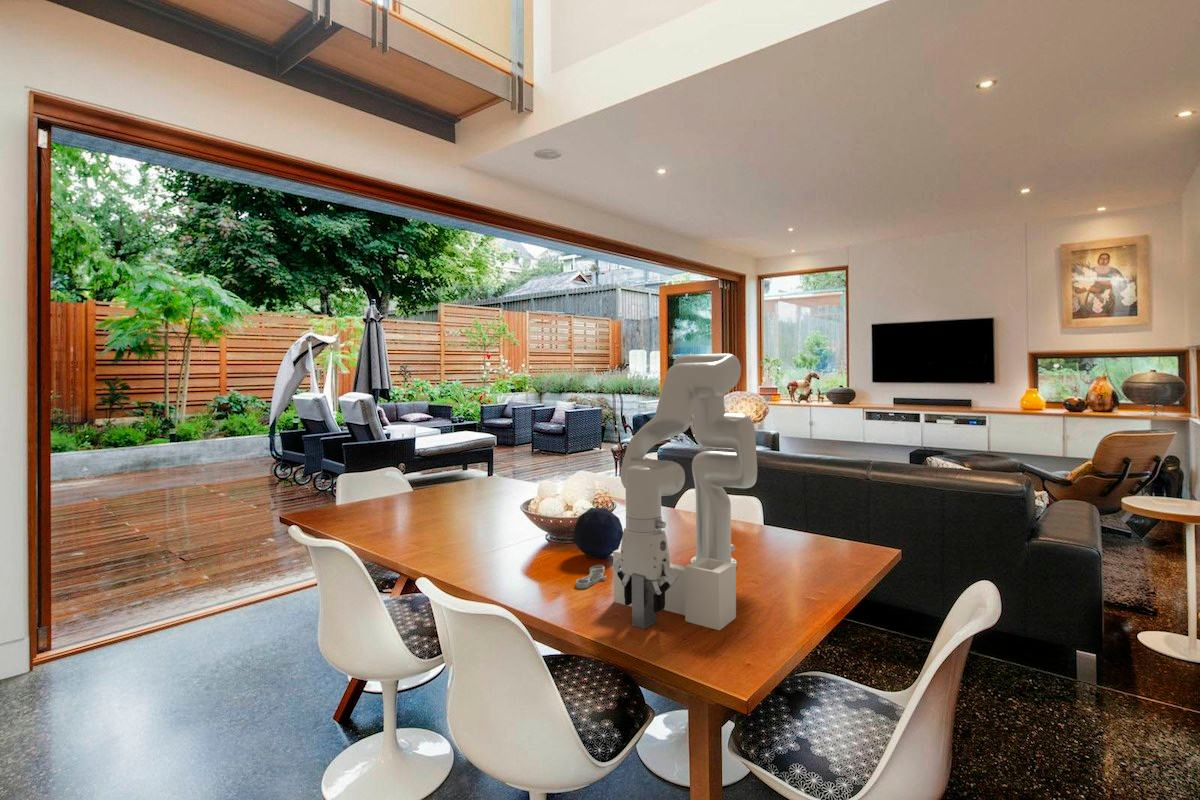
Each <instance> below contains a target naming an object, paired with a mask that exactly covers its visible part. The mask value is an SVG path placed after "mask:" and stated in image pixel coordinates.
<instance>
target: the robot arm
mask: <svg viewBox="0 0 1200 800" xmlns="http://www.w3.org/2000/svg"><path fill="white" fill-rule="evenodd" d="M672 364H673V365H672V366H670V367H669V368H668V369H667V371H666V374H665V377H664V380H663V383H662V388H661V391H660V395H659V400H658V404H657V406H656V410H655V413H654V416H653V417H652V419H650V420H649V421H647V422H646V423H645V424H643V425H642V426H641V428H639V429H638V430H637V432H635V434H634V435H633V436H632V438H631V439H630V441H629V443H628V444H627V447H626V450H625V452H624V453H625V454H624V456H623V459H622V464H621V470H620V482H621V484H622V487H624V489H625V527H624V528H623V536H622V540H621V543H620V548H621V556H620V558H619V559H618V560H617V561H616V562H615V563H614V564H613V563H612V565H611V566H612V568H614V570H615V571H616V573H617V575H618V577H619V578H620V580H621V581H622V585H623V586H624V598H625V605H624V606H627V605H629V604H631V603H632V574H635V575H639V576H644V577H645V579H646V580H650V581H652V583H653V586H654V588H655V591H656V593H655V594H654V596H653V597H654V613H657V614H658V613H660V612H661V611H663V609H664V607H665V591H667V589H669V588H670V587H671V586H672V584H674V583H675V581H676V580H677V579H678V577H677V575H676V574H675V573H674V572H673V570H672V569H671V568H670V563H671V562H670V553H669V552H670V551H669V544H668V540H667V535H666V531H665V530H663V529H666V526H667V522H666V521H663V517H662V497H663V496H664V497H665V496H666V497H667V496H674V495H676V494H678V493H679V492H680V491H681V490H682V489H683V487H684V485H685V482H686V472H685V469H684V467H682V465H681V464H680V463H678V462H675V461H671V460H662V459H661V460H659V459H649V458H645V456H646V454H648V451H650V449H652V448H653V447H654V446H655V445H657V444H659V443H661V442H663V441H666V440H668V439H671V438H673V437H675V436H678V435H681V434H683V433H684V432H686V431H687V430H688V429H689V428H690V427H691V423H692V418H693V430H694V437H695V441H696V443H697V444H698V445H699V446H700V447H702V448H707V449H723V450H725V449H728V450H734V451H735V452H733V451H731V452H730V451H720V450H717V451H716V450H707V451H705V450H704V451H701V452H699V453H697V454H696V455H695V456H694V457H693V459H692V462H691V472H692V478H693V483H694V489H695V490H694V492H695V556H692V558H690V563H692V562H694V561H696V560H698V559H699V558H701V557H706V558H711V559H716V560H722V561H727V562H732V563H736V567H737V566H738V564H737V563H738V562H737V560H736V559H735V558H733V557H732V552H735V549H736V546H735V544H732V503H731V499H730V497H729V495H728V494H727V492H726V490H725V489H724V488H732V489H733V488H735V489H749V488H752V487H753V486H755V485H756V482H757V479H758V458H757V442H756V441H757V440H756V439H757V438H756V429H755V424H754V423H753V420H752V418H751V416H749V415H747V414H745V413H744V414H743V413H731V412H730V413H728V412H727V411H726V408H725V397H724V396H725V395H726V394H727V393H729V391H731V390H732V389H733V388H735V386H737V384H738V383H739V380H740V378H741V373H742V365H741V363H740V360H739V359H738V357H737V356H736V355H734V354H732V353H700V354H699V353H698V354H696V353H695V354H693V353H691V354H685V355H680V356H678V357H677V358H675V359H674V361H673V363H672ZM663 576H667V577H668V580H667V581H666V582H665V580H664V578H663ZM658 581H659V582H658ZM659 584H660V585H659Z"/></svg>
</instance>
